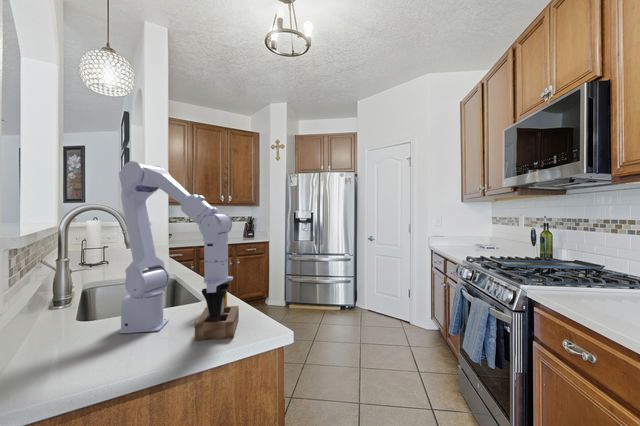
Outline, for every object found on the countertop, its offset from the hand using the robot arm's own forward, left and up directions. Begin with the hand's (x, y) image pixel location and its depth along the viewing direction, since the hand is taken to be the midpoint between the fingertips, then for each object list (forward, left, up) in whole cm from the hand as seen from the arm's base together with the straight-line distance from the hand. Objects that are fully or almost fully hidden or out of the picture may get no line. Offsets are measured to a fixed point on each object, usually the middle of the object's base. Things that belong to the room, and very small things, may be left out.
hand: (216, 313), depth 78 cm
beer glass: (-3, +19, -5) cm, 20 cm away
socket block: (0, +3, -5) cm, 6 cm away
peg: (0, 0, -2) cm, 3 cm away
